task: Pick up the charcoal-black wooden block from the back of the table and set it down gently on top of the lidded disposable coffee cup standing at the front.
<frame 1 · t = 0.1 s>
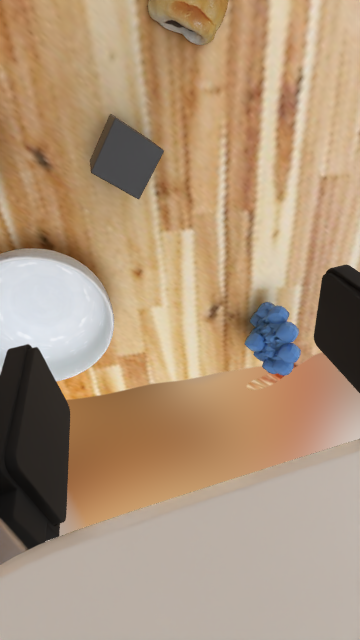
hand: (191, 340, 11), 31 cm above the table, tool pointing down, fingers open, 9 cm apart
cereal bowl: (44, 296, 42), on the table
black block: (121, 151, 35), on the table
grapes: (249, 316, 53), on the table
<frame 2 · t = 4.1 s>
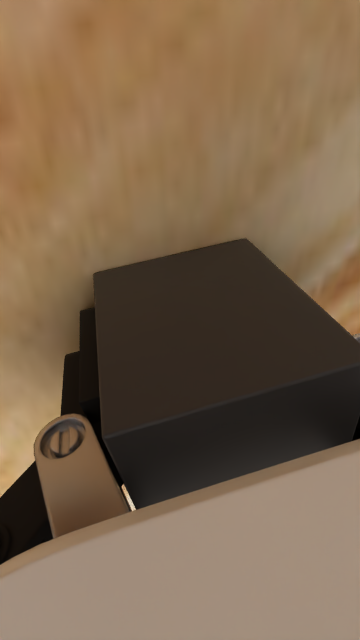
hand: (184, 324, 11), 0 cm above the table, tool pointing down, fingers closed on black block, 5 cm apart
black block: (181, 317, 12), on the table, touching gripper
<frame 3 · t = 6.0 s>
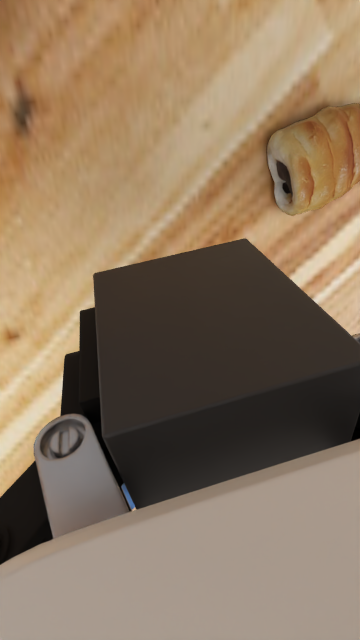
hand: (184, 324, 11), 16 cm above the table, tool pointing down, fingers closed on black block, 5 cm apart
black block: (181, 317, 12), point 15 cm above the table, touching gripper
pastry: (311, 154, 26), on the table
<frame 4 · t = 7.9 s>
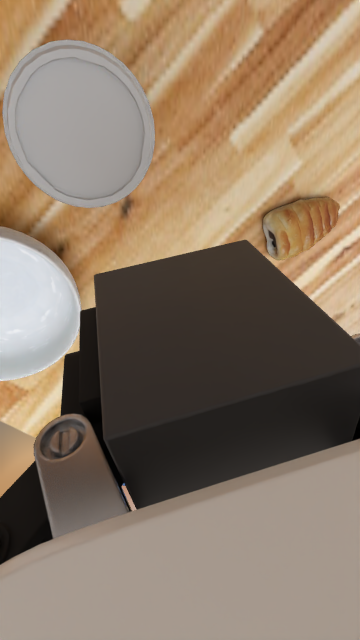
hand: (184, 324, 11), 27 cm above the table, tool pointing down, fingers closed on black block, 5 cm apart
cereal bowl: (3, 283, 37), on the table
black block: (182, 318, 12), point 27 cm above the table, touching gripper
disposable coffee cup: (83, 121, 30), on the table
pastry: (290, 222, 41), on the table
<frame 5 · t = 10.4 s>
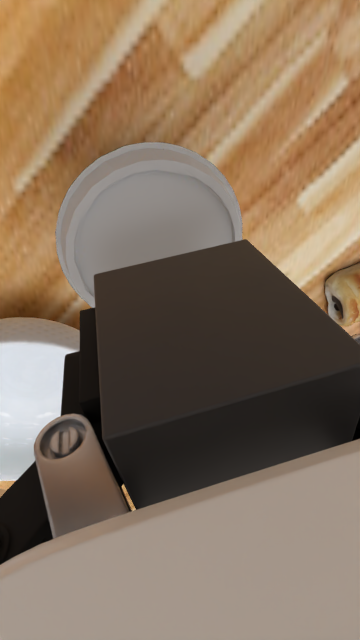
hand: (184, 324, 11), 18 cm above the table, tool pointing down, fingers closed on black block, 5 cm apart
cereal bowl: (33, 364, 33), on the table
black block: (181, 318, 12), point 17 cm above the table, touching gripper
disposable coffee cup: (131, 192, 26), on the table
pastry: (355, 282, 36), on the table
when the fingers open (12 cm above the table, at t = 12.1 s): black block stays where it is, resting on disposable coffee cup.
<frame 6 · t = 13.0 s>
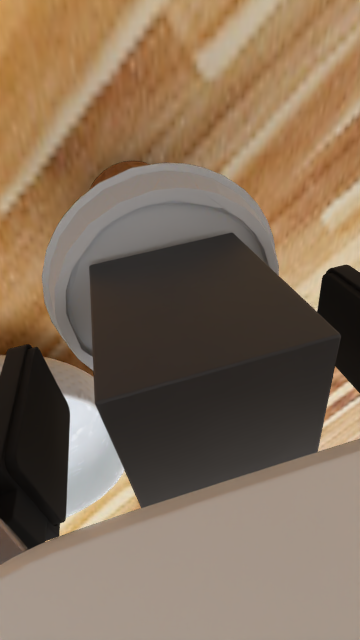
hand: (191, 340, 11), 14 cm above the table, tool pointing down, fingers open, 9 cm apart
cereal bowl: (24, 399, 29), on the table
black block: (173, 308, 13), point 12 cm above the table, touching disposable coffee cup
disposable coffee cup: (134, 211, 22), on the table, touching black block
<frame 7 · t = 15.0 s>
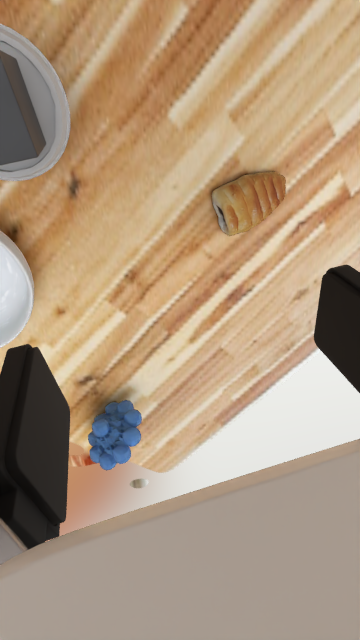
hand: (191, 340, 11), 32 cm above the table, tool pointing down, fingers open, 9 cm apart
disposable coffee cup: (21, 104, 32), on the table, touching black block
grapes: (107, 401, 57), on the table
pastry: (240, 198, 43), on the table
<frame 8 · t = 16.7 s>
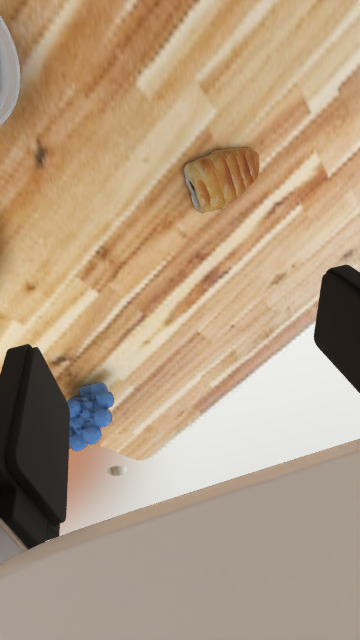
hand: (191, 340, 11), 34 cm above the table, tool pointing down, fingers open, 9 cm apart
grapes: (81, 384, 56), on the table
pastry: (214, 175, 42), on the table
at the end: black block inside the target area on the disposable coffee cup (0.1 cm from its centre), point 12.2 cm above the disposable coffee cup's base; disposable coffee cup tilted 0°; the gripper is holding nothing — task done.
